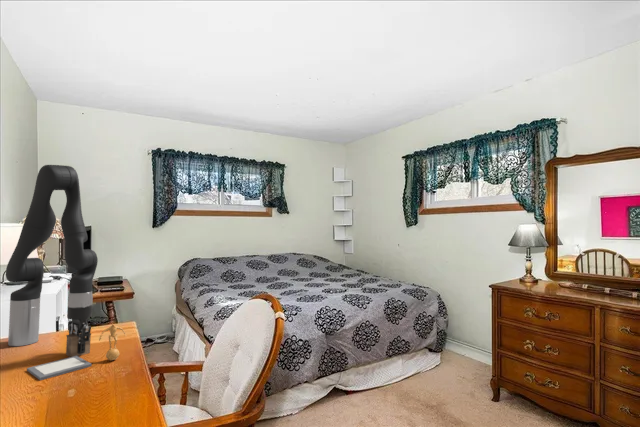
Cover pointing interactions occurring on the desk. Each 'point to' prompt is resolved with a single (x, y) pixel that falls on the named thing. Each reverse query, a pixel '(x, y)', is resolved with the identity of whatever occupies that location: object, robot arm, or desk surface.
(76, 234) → the robot arm
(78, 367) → the mat
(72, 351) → the walnut box
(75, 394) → the desk surface
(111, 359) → the figurine
